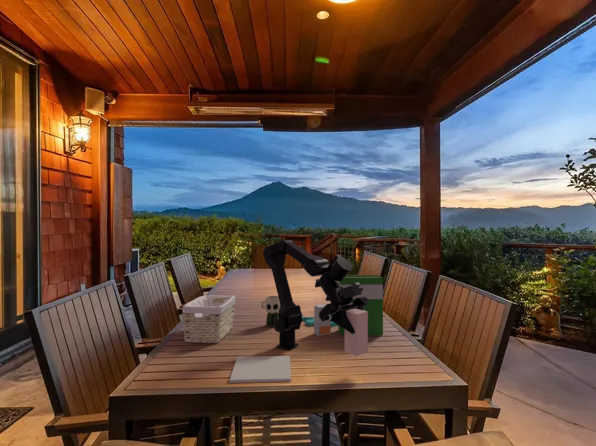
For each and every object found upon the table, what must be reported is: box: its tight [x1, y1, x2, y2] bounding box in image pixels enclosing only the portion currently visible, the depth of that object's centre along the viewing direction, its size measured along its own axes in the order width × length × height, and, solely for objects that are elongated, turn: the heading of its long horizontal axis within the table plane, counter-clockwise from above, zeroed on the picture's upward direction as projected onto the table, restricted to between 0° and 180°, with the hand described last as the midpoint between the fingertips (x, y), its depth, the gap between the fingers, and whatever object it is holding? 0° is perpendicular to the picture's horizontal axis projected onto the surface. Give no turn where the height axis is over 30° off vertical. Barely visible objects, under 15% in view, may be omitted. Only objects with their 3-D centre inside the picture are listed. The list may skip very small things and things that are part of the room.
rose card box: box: [344, 309, 369, 357], centre depth 109 cm, size 5×5×12 cm
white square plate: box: [229, 355, 292, 384], centre depth 113 cm, size 18×18×1 cm
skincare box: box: [313, 303, 332, 337], centre depth 149 cm, size 6×4×12 cm
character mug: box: [260, 295, 280, 327], centre depth 161 cm, size 11×7×13 cm, turn 87°
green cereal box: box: [337, 274, 384, 336], centre depth 151 cm, size 18×7×24 cm, turn 91°
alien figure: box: [301, 315, 338, 328], centre depth 169 cm, size 20×2×20 cm
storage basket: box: [181, 294, 236, 344], centre depth 148 cm, size 24×16×15 cm
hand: (359, 331), depth 108 cm, fingers closed on rose card box, 5 cm apart
